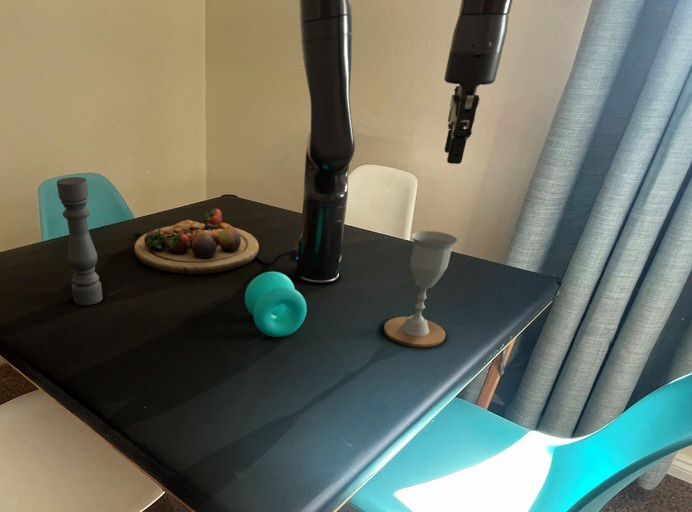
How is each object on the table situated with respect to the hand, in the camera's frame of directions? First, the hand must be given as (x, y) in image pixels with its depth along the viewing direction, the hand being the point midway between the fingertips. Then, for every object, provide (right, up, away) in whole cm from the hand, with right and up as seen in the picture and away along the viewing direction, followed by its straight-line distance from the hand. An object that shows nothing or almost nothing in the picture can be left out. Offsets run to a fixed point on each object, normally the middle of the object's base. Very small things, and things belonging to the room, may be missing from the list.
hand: (452, 157), depth 94 cm
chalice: (-2, -29, +10) cm, 31 cm away
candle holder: (-68, -21, +25) cm, 75 cm away
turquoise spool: (-29, -28, +13) cm, 43 cm away
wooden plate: (-45, -7, +48) cm, 66 cm away
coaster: (-3, -29, +11) cm, 31 cm away
